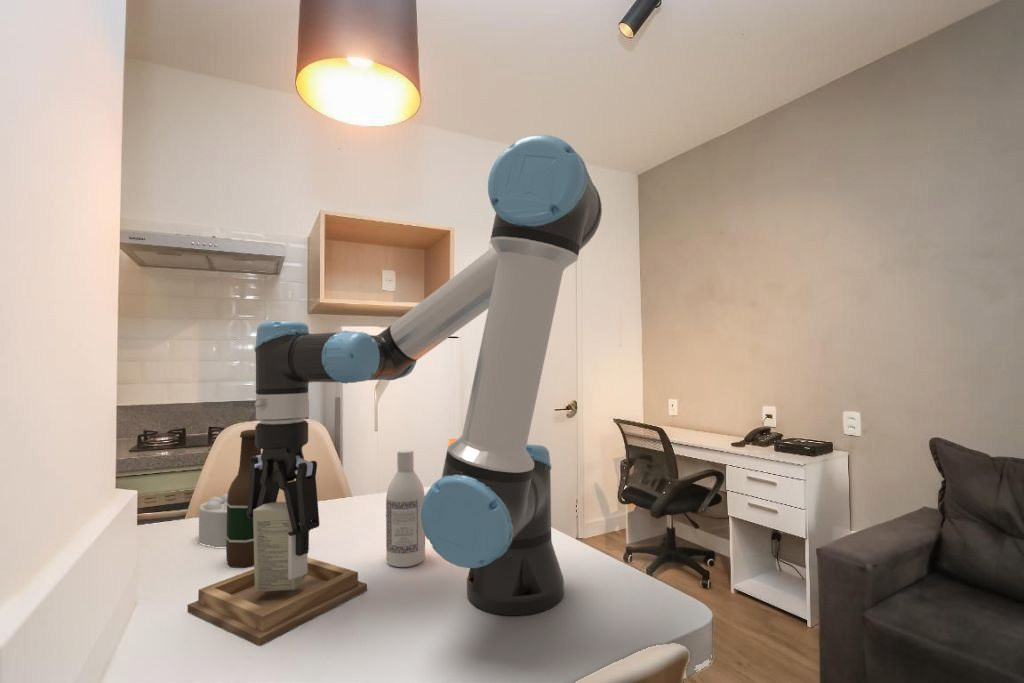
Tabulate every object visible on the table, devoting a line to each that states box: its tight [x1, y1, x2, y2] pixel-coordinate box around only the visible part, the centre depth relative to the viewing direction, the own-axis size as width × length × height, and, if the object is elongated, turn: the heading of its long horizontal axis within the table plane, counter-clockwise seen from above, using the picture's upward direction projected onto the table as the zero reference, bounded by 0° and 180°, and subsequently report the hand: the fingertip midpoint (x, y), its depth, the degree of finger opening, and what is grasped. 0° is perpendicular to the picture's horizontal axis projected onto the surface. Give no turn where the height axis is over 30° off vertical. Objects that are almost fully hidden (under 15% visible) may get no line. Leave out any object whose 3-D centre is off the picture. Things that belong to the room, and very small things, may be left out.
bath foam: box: [385, 449, 426, 568], centre depth 91 cm, size 7×7×20 cm
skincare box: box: [253, 501, 306, 592], centre depth 76 cm, size 6×4×12 cm
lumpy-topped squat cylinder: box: [198, 492, 228, 547], centre depth 105 cm, size 10×13×9 cm
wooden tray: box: [187, 556, 368, 647], centre depth 76 cm, size 18×18×3 cm
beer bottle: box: [225, 429, 262, 568], centre depth 93 cm, size 8×8×24 cm
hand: (281, 570), depth 76 cm, fingers closed on skincare box, 7 cm apart
